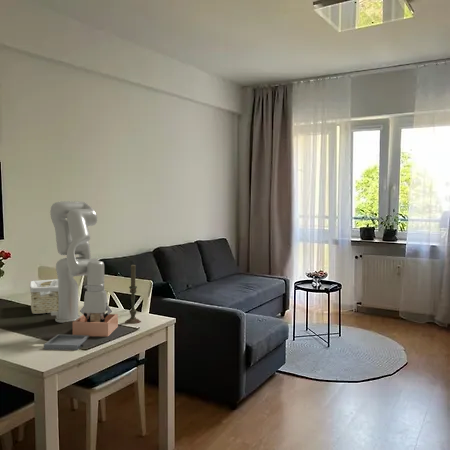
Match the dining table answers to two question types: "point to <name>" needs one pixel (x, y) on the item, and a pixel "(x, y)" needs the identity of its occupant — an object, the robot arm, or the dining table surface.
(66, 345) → the grey tray
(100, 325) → the pink open storage bin
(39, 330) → the dining table surface
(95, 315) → the birch peg
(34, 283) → the storage basket
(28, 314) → the dining table surface
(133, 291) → the candlestick holder
